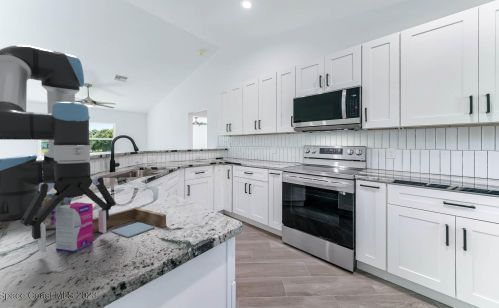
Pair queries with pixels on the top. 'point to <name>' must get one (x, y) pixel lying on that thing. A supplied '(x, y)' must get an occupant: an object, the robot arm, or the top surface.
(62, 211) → the supplement box
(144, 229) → the pad
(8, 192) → the robot arm
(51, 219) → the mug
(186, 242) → the top surface
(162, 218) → the wooden l-shaped corner
